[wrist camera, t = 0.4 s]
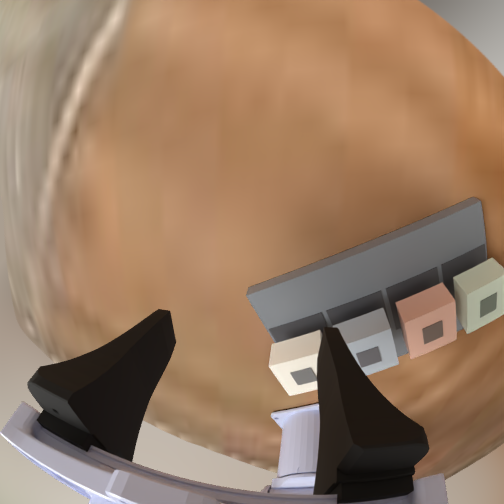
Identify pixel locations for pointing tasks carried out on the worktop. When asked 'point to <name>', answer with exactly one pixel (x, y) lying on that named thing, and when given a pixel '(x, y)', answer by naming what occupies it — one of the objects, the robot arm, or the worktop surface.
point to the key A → (296, 362)
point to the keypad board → (374, 275)
